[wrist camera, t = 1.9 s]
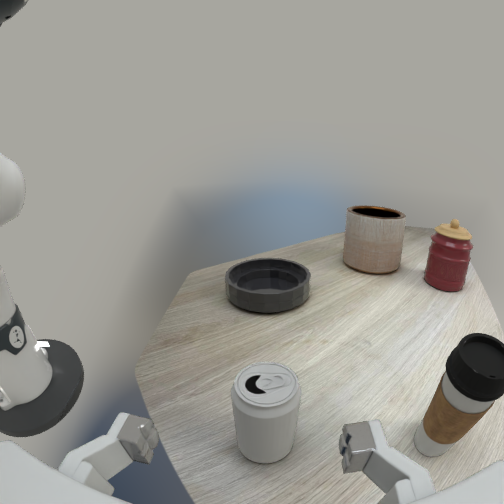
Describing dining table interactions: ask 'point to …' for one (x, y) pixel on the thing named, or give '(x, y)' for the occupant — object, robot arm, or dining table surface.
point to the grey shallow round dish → (267, 284)
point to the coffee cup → (462, 393)
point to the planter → (373, 239)
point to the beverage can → (265, 410)
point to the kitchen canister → (448, 257)
